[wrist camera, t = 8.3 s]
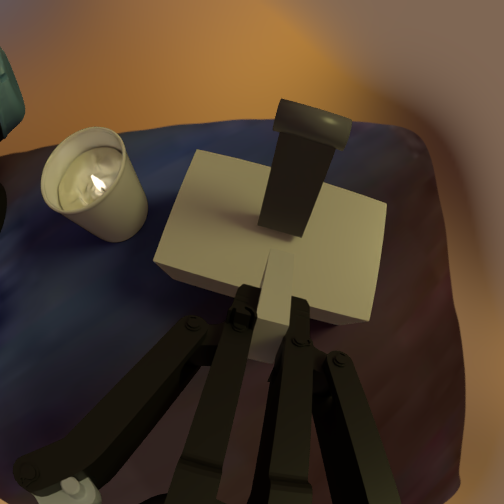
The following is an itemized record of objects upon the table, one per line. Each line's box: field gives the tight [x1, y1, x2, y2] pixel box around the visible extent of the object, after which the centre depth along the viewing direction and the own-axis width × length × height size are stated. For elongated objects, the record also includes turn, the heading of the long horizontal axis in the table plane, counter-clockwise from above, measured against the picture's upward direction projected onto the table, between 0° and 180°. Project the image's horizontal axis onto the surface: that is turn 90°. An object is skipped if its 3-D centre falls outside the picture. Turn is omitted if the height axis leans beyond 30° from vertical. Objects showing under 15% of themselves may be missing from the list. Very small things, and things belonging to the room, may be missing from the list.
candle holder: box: [41, 127, 148, 242], centre depth 31 cm, size 10×10×12 cm
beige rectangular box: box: [153, 149, 387, 325], centre depth 32 cm, size 20×12×9 cm, turn 74°
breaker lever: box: [257, 99, 352, 238], centre depth 23 cm, size 5×2×11 cm, turn 74°
